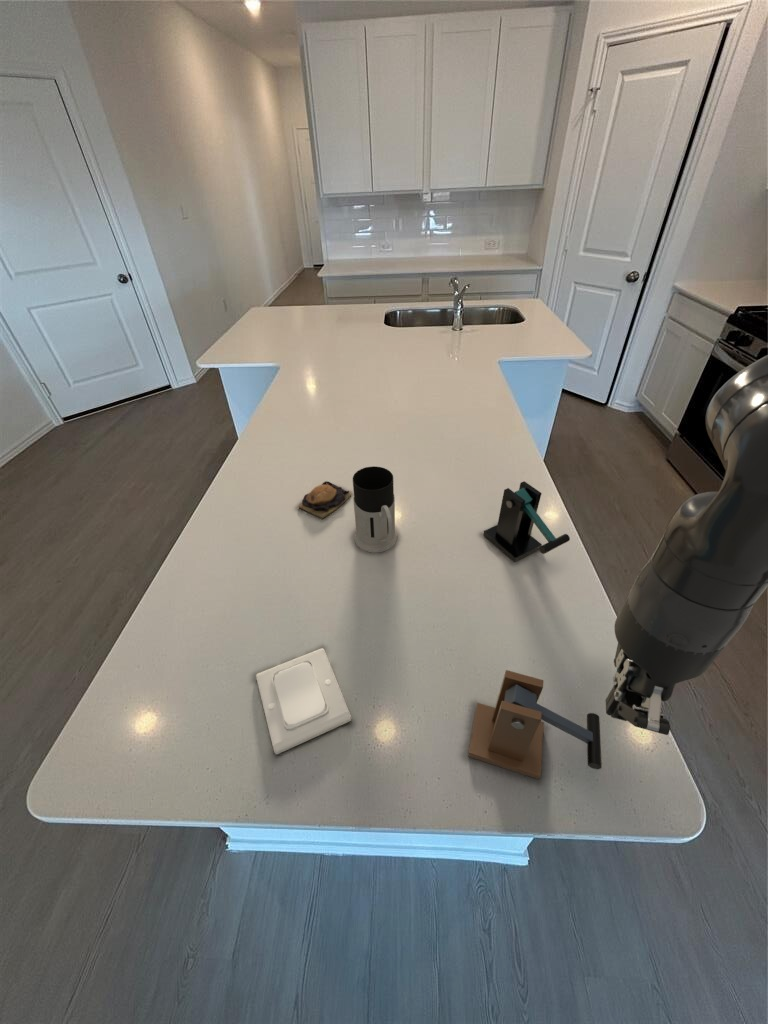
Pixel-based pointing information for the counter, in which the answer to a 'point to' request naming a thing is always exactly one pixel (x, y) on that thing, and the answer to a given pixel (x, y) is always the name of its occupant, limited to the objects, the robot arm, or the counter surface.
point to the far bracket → (515, 525)
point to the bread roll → (324, 499)
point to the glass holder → (374, 509)
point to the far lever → (541, 525)
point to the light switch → (301, 700)
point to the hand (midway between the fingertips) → (615, 710)
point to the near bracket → (510, 730)
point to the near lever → (562, 723)
